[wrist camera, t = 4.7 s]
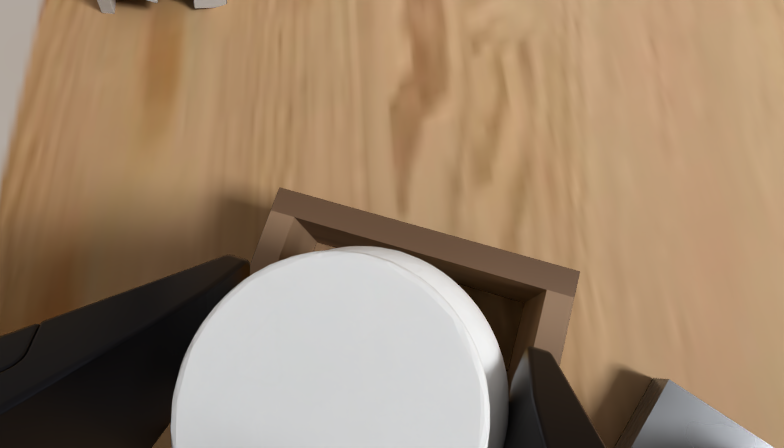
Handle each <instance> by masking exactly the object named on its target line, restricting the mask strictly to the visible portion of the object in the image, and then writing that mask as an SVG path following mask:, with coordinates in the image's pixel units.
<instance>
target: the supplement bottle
mask: <svg viewBox="0 0 784 448" xmlns="http://www.w3.org/2000/svg"><path fill="white" fill-rule="evenodd" d="M508 418H509V390H508V380H507V373H506V369H505V365H504V361H503V357H502V354H501V351H500V348H499V345H498V342H497V340H496V338H495V336H494V333H493V331H492V329H491V327H490V325H489V323H488V322H487V320H486V318H485V317H484V315H483V314H482V312H481V311H480V309H479V308H478V306H477V305H476V304H475V303H474V301H473V300H472V299H471V298H470V297H469V295H468V294H467V293H466V292H465V291H464V290H463V289H462V288H461V287H460V286H459V285H458V284H457V283H456V282H455V281H453V280H452V279H451V278H450V277H448V276H447V275H446V274H444V273H443V272H442V271H440V270H439V269H437V268H435V267H434V266H432V265H431V264H429V263H427V262H425V261H423V260H421V259H419V258H416V257H414V256H411V255H409V254H406V253H403V252H401V251H397V250H392V249H387V248H382V247H373V246H348V247H341V248H334V249H330V250H325V251H315V252H308V253H304V254H300V255H295V256H292V257H289V258H286V259H283V260H280V261H278V262H275V263H273V264H270V265H268V266H266V267H265V268H263V269H261V270H259V271H257V272H255V273H253V274H252V275H250V276H249V277H247V278H246V279H244V280H243V281H242V282H241V283H239V284H238V285H237V286H236V287H235V288H233V289H232V290H231V291H230V292H229V293H228V294H227V295H226V296H225V297H223V299H222V300H221V301H220V302H219V303H218V304H217V305H216V306H215V307H214V308H213V310H212V311H211V312H210V313H209V315H208V316H207V317H206V319H205V320H204V321H203V322H202V324H201V326H200V327H199V329H198V331H197V332H196V334H195V335H194V337H193V339H192V341H191V343H190V345H189V347H188V349H187V351H186V353H185V356H184V358H183V361H182V364H181V366H180V370H179V374H178V377H177V381H176V385H175V389H174V393H173V399H172V410H171V426H170V429H171V445H172V448H503V447H504V442H505V438H506V432H507V427H508Z"/></svg>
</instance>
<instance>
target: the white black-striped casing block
mask: <svg viewBox="0 0 784 448" xmlns="http://www.w3.org/2000/svg"><path fill="white" fill-rule="evenodd" d="M97 1H98V4H99V7H100V9H101V12H102V13H112V14H114V13H115V5H116V0H97ZM148 1H151V2H155V3H158V0H148ZM225 4H227V0H194V8H215V7H219V6H222V5H225Z"/></svg>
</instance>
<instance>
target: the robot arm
mask: <svg viewBox="0 0 784 448" xmlns="http://www.w3.org/2000/svg"><path fill="white" fill-rule="evenodd" d="M249 276H250V263H249V261H248V260H246V259H243V258H240V257H237V256H234V255H226V256H223V257H220V258H217V259H214V260H212V261H209V262H206V263H203V264H201V265H198V266H195V267H192V268H189V269H187V270H184V271H181V272H178V273H176V274H173V275H170V276H167V277H165V278H162V279H159V280H156V281H153V282H151V283H148V284H145V285H142V286H140V287H137V288H134V289H131V290H128V291H126V292H123V293H120V294H117V295H115V296H112V297H109V298H106V299H103V300H101V301H98V302H95V303H92V304H90V305H87V306H84V307H81V308H78V309H76V310H73V311H70V312H67V313H65V314H62V315H59V316H56V317H53V318H51V319H48V320H45V321H43V322H41V324H40V325H39V324H34V325H31V326H28V327H25V328H23V329H20V330H17V331H14V332H11V333H9V334H6V335H3V336H0V448H152V447H153V445H154V444H155V443H156V441H157V440H158V438H159V437H160V436H161V434H162V433H163V432H164V430H165V429H166V428H167V426H168V425H169V423H170V422H171V410H172V399H173V393H174V389H175V385H176V381H177V377H178V374H179V370H180V366H181V364H182V361H183V358H184V356H185V353H186V351H187V349H188V347H189V345H190V343H191V341H192V339H193V337H194V335H195V334H196V332H197V331H198V329H199V327H200V326H201V324H202V322H203V321H204V320H205V319H206V317H207V316H208V315H209V313H210V312H211V311H212V310H213V308H214V307H215V306H216V305H217V304H218V303H219V302H220V301H221V300H222V299H223V297H225V296H226V295H227V294H228V293H229V292H230V291H231V290H232V289H233V288H235V287H236V286H237V285H238V284H239V283H241V282H242V281H243V280H244V279H246V278H247V277H249ZM503 448H606V446H605V445H604V443H603V441H602V440H601V438H600V436H599V434H598V433H597V431H596V429H595V427H594V426H593V424H592V422H591V421H590V419H589V417H588V415H587V414H586V412H585V410H584V408H583V407H582V405H581V403H580V401H579V400H578V398H577V396H576V395H575V393H574V391H573V389H572V388H571V386H570V384H569V382H568V381H567V379H566V377H565V376H564V374H563V372H562V370H561V369H560V367H559V365H558V363H557V362H556V360H555V358H554V356H553V355H552V354H551V353H550V352H549V351H546V350H543V349H540V348H536V347H533V346H529V347H527V348H526V349H525V351H524V354H523V356H522V358H521V361H520V363H519V365H518V368H517V370H516V373H515V375H514V378H513V381H512V384H511V389H510V396H509V418H508V427H507V432H506V438H505V442H504V447H503Z"/></svg>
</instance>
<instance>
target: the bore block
mask: <svg viewBox="0 0 784 448" xmlns="http://www.w3.org/2000/svg"><path fill="white" fill-rule="evenodd" d="M317 242H319V243H322V244H326V245H329V246H332V247H336V248H341V247H348V246H373V247H382V248H387V249H392V250H397V251H401V252H403V253H406V254H409V255H411V256H414V257H416V258H419V259H421V260H423V261H425V262H427V263H429V264H431V265H432V266H434V267H435V268H437V269H439V270H440V271H442V272H443V273H444V274H446V275H447V276H448V277H450V278H451V279H452V280H453V281H455V282H456V283H459V284H462V285H466V286H469V287H472V288H476V289H479V290H483V291H486V292H489V293H493V294H496V295H500V296H503V297H506V298H510V299H513V300H517V301H520V302H524V307H523V311H522V316H521V320H520V324H519V328H518V332H517V336H516V340H515V345H514V349H513V353H512V357H511V361H510V365H509V369H508V374H507V380H508V390H509V396H510V389H511V384H512V381H513V378H514V375H515V373H516V370H517V368H518V365H519V363H520V361H521V358H522V356H523V354H524V351H525V349H526V348H527V347H529V346H533V347H536V348H540V349H543V350H546V351H549V352H550V353H551V354H552V355H553V356H554V358H555V360H556V362H557V363H558V365H559V366H560V361H561V356H562V352H563V347H564V343H565V338H566V333H567V329H568V324H569V320H570V315H571V311H572V306H573V301H574V297H575V292H576V288H577V283H578V278H579V274H580V271H576V270H573V269H569V268H566V267H562V266H558V265H555V264H551V263H548V262H544V261H541V260H537V259H533V258H530V257H526V256H523V255H519V254H516V253H512V252H508V251H505V250H501V249H498V248H494V247H491V246H487V245H483V244H480V243H476V242H473V241H469V240H466V239H462V238H458V237H455V236H451V235H448V234H444V233H441V232H437V231H433V230H430V229H426V228H423V227H419V226H416V225H412V224H408V223H405V222H401V221H398V220H394V219H391V218H387V217H383V216H380V215H376V214H373V213H369V212H366V211H362V210H358V209H355V208H351V207H348V206H344V205H341V204H337V203H334V202H330V201H326V200H323V199H319V198H316V197H312V196H309V195H305V194H301V193H298V192H294V191H291V190H287V189H284V188H279V190H278V193H277V195H276V198H275V201H274V203H273V206H272V208H271V211H270V214H269V216H268V219H267V222H266V224H265V227H264V229H263V232H262V235H261V237H260V240H259V243H258V245H257V248H256V250H255V253H254V256H253V258H252V261H251V264H250V275H252V274H253V273H255V272H257V271H259V270H261V269H263V268H265V267H266V266H268V265H270V264H273V263H275V262H278V261H280V260H283V259H286V258H289V257H292V256H295V255H300V254H304V253H308V252H313V251H314V249H315V246H316V243H317Z"/></svg>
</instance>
